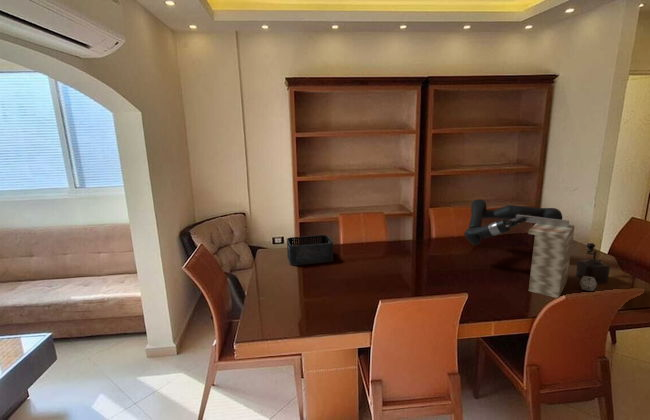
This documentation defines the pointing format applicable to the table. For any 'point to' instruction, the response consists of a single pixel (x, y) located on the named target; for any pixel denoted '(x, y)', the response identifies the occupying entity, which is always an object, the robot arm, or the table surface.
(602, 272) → the black coffee grinder
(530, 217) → the steel bar
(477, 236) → the robot arm
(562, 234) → the zigzag patterned box
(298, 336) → the table surface
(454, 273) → the table surface
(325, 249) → the storage bin
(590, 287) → the game die
